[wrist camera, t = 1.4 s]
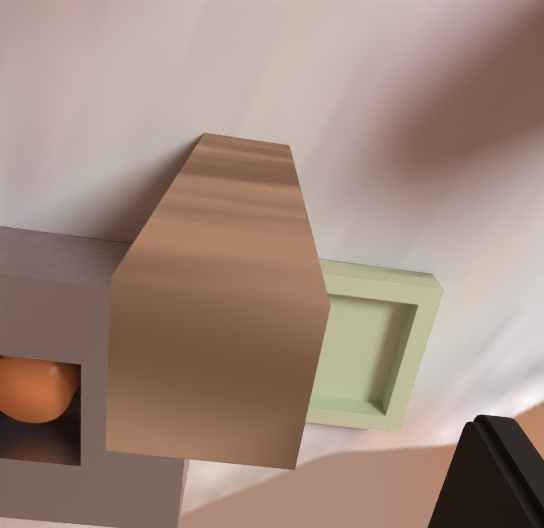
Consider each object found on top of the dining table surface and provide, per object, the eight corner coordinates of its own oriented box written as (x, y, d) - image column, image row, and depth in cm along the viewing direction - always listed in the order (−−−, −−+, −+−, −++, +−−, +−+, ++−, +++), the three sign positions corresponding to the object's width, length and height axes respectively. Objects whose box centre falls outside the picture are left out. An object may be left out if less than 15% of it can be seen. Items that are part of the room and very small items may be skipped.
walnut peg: (204, 132, 24) (110, 278, 9) (289, 145, 24) (330, 306, 9) (196, 214, 25) (105, 450, 11) (276, 225, 26) (294, 469, 11)
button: (3, 329, 26) (-17, 351, 24) (83, 339, 26) (69, 361, 24) (7, 393, 28) (-11, 418, 26) (83, 401, 28) (70, 427, 26)
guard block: (-115, 211, 25) (-200, 249, 20) (212, 254, 26) (201, 299, 22) (-80, 434, 30) (-141, 504, 26) (189, 461, 32) (176, 533, 27)
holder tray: (262, 251, 26) (262, 265, 25) (432, 274, 27) (443, 289, 25) (240, 394, 30) (239, 415, 28) (391, 411, 30) (398, 432, 29)
